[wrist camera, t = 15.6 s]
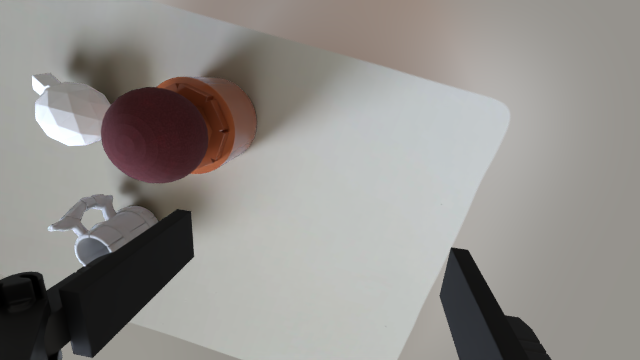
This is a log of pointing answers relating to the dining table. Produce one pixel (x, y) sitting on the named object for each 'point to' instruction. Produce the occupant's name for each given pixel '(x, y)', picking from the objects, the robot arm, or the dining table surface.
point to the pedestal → (219, 116)
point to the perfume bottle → (69, 110)
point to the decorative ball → (154, 135)
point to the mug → (104, 226)
